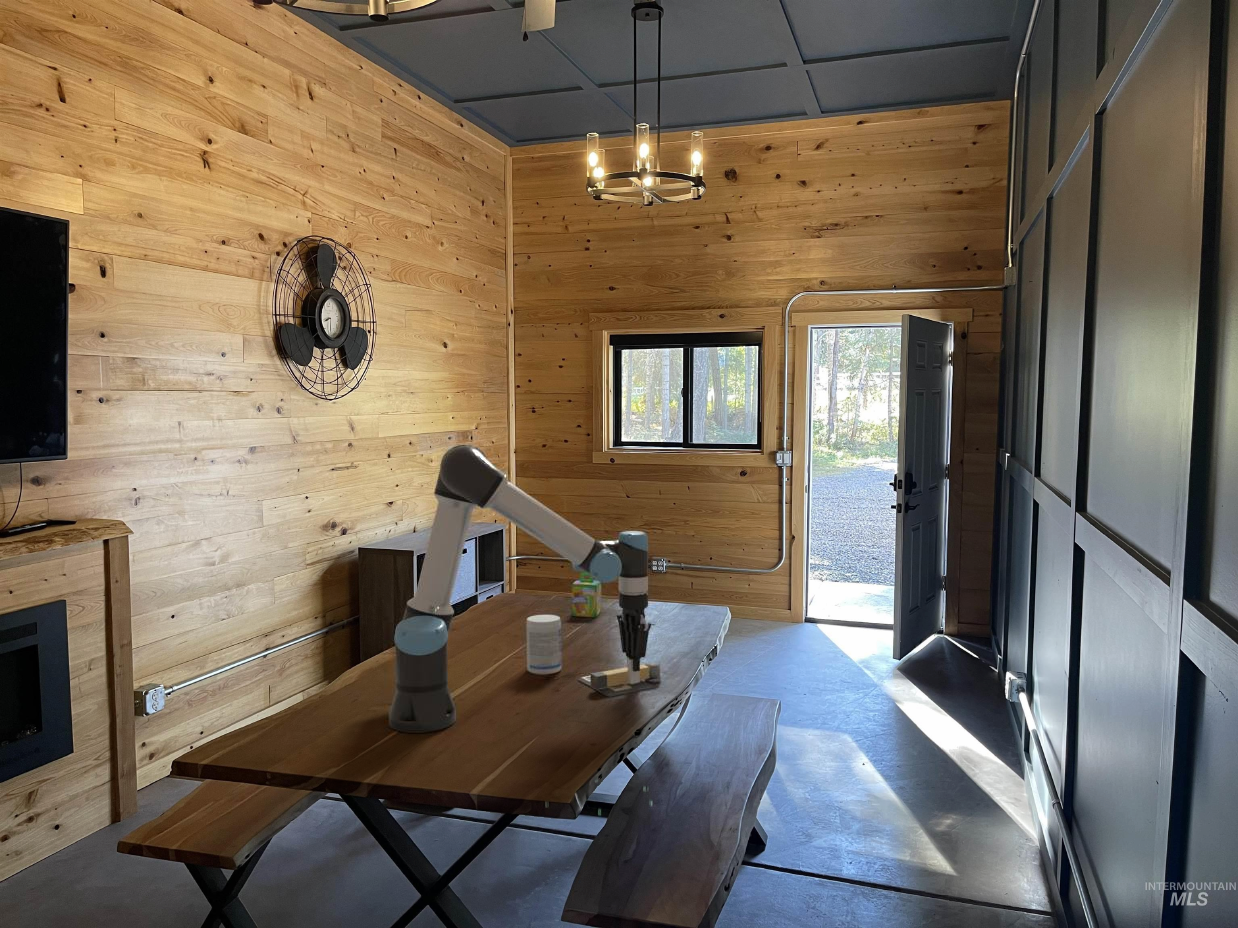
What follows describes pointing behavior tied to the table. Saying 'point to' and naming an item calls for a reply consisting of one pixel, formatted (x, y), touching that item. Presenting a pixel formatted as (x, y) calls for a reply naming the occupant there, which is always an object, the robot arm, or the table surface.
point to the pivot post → (653, 680)
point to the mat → (608, 692)
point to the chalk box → (586, 597)
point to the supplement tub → (543, 644)
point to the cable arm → (623, 675)
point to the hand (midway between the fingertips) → (633, 682)
